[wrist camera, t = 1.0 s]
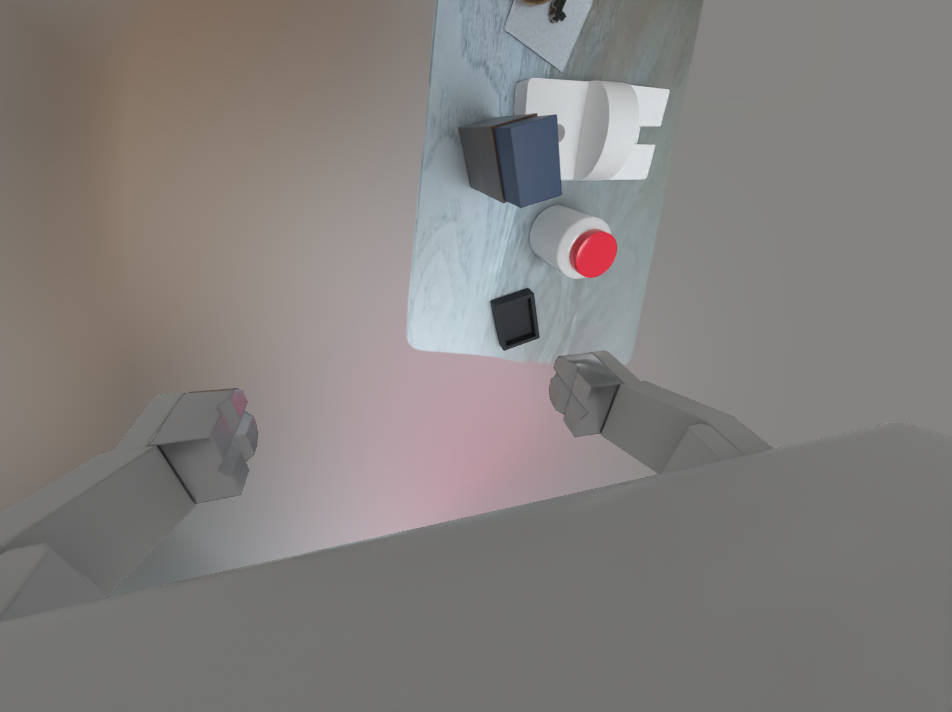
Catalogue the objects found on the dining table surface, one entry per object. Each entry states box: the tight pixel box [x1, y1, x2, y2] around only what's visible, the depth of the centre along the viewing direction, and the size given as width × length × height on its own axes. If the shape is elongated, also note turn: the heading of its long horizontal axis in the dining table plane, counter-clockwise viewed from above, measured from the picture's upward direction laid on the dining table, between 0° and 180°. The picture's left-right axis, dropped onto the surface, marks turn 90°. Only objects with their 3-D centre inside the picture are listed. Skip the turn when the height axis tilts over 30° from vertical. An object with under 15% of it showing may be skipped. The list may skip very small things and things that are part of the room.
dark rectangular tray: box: [490, 288, 539, 350], centre depth 54 cm, size 8×6×2 cm
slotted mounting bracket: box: [514, 78, 669, 181], centre depth 39 cm, size 10×18×9 cm, turn 89°
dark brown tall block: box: [459, 113, 538, 203], centre depth 36 cm, size 6×4×12 cm
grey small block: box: [504, 0, 593, 72], centre depth 34 cm, size 8×8×2 cm
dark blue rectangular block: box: [494, 114, 562, 208], centre depth 30 cm, size 6×4×4 cm, turn 13°
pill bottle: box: [530, 205, 617, 279], centre depth 45 cm, size 8×8×11 cm
